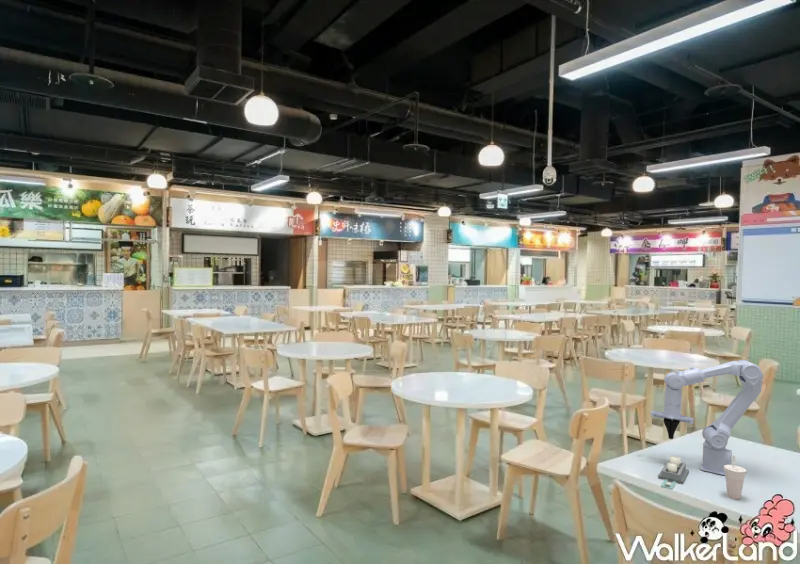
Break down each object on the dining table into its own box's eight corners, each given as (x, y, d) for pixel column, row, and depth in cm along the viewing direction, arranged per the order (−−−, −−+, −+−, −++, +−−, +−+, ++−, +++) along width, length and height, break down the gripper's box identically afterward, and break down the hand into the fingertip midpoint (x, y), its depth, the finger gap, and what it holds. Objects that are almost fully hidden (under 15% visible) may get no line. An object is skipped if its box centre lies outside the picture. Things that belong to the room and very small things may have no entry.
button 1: (677, 475, 182) (677, 464, 182) (675, 477, 180) (676, 466, 180) (668, 473, 184) (668, 462, 184) (666, 475, 181) (666, 464, 181)
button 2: (681, 468, 189) (681, 457, 189) (679, 470, 187) (680, 459, 187) (672, 466, 191) (672, 455, 191) (670, 468, 188) (671, 457, 188)
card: (676, 482, 179) (676, 481, 179) (672, 489, 173) (672, 488, 173) (665, 479, 181) (665, 478, 181) (660, 486, 175) (661, 485, 175)
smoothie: (718, 492, 171) (719, 452, 171) (735, 492, 172) (737, 451, 171) (732, 501, 165) (733, 459, 164) (750, 500, 165) (751, 458, 165)
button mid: (679, 468, 185) (679, 457, 185) (677, 470, 183) (678, 459, 183) (670, 466, 187) (670, 455, 187) (668, 468, 185) (669, 457, 185)
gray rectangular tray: (688, 472, 188) (689, 464, 188) (683, 484, 177) (683, 475, 177) (665, 466, 193) (665, 459, 193) (658, 478, 182) (658, 470, 182)
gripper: (650, 402, 196) (648, 436, 197) (692, 409, 188) (691, 445, 188) (653, 398, 202) (651, 432, 202) (695, 405, 194) (693, 440, 194)
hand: (670, 438), depth 196 cm, fingers closed
